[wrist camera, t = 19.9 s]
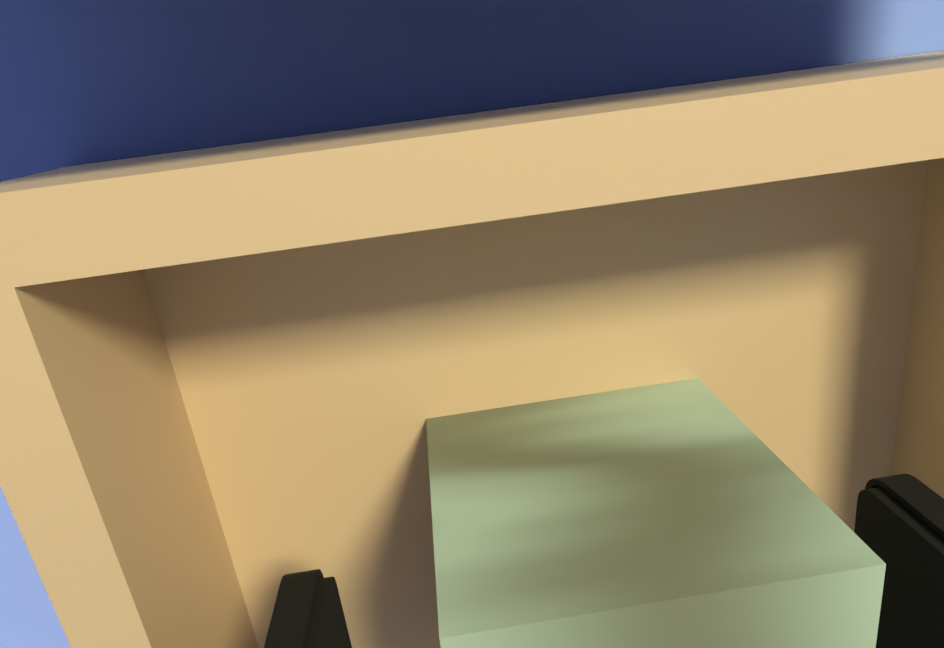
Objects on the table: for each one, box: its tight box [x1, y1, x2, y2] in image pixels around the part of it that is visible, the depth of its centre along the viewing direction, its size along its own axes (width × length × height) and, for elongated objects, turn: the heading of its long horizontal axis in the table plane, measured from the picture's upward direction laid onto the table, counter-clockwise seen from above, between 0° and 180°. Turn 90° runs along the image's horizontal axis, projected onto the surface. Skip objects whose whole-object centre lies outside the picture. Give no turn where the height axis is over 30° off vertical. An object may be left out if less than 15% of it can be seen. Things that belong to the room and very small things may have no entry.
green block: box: [426, 378, 886, 648], centre depth 10 cm, size 5×5×5 cm
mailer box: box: [0, 51, 944, 648], centre depth 12 cm, size 15×15×4 cm
